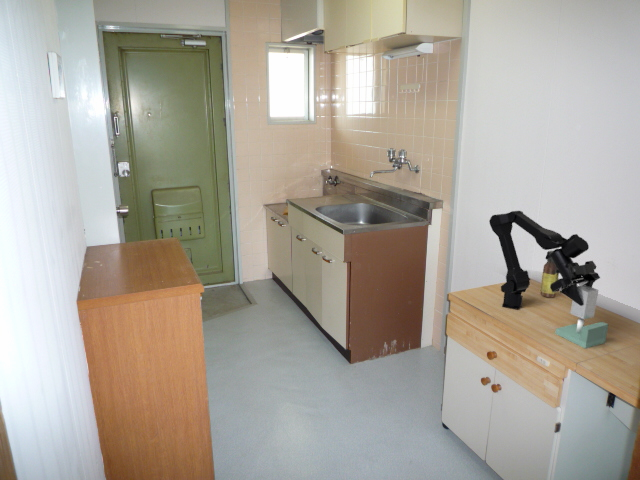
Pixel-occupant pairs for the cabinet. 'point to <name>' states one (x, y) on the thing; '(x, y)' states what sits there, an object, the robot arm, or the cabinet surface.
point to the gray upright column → (585, 302)
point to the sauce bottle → (548, 278)
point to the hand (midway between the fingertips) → (587, 304)
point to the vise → (584, 333)
